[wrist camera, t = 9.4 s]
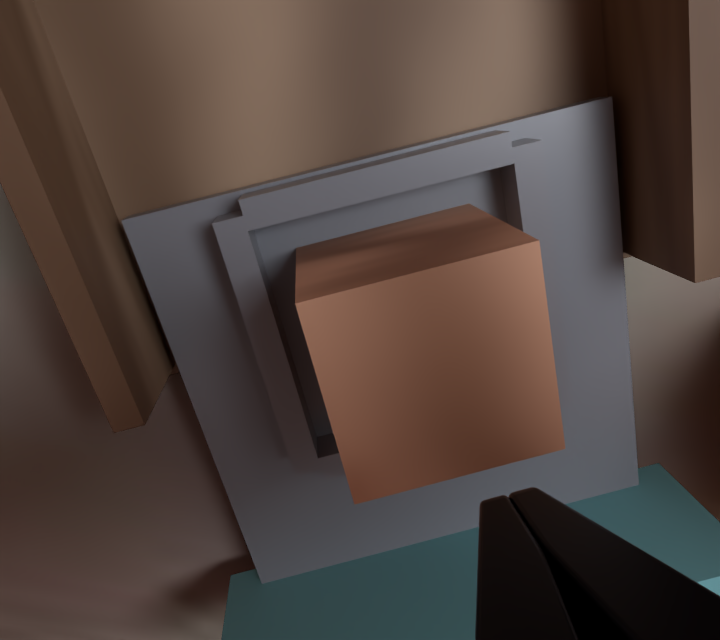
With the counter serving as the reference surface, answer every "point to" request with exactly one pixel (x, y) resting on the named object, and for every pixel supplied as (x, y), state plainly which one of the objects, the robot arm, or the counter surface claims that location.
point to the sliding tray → (307, 408)
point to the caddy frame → (321, 124)
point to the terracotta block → (430, 348)
